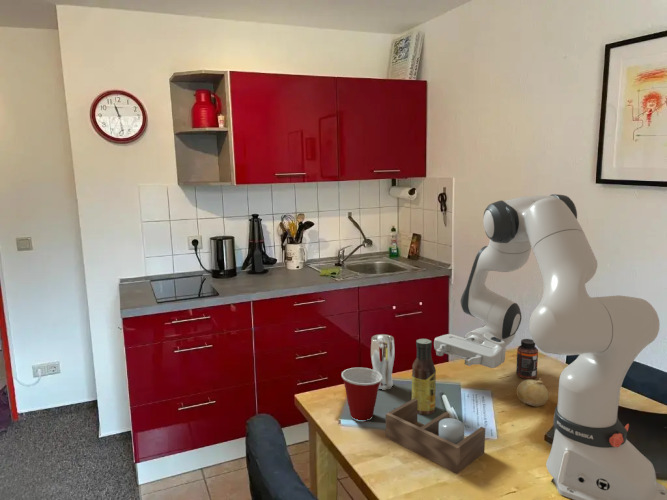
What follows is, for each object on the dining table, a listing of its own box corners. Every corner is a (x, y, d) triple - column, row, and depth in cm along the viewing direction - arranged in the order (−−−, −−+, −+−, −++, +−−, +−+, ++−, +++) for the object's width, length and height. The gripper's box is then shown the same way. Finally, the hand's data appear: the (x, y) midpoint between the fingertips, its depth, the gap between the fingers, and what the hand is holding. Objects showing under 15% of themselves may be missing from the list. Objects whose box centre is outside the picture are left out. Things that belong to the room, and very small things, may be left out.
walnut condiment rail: (484, 456, 113) (485, 428, 112) (456, 478, 106) (457, 448, 105) (414, 423, 128) (414, 398, 127) (385, 440, 121) (385, 414, 119)
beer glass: (398, 383, 150) (398, 336, 148) (388, 393, 145) (388, 344, 142) (377, 378, 154) (377, 332, 151) (367, 387, 148) (366, 339, 146)
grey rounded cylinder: (468, 452, 113) (469, 424, 112) (454, 463, 110) (455, 434, 108) (447, 443, 117) (448, 415, 116) (433, 452, 114) (433, 424, 112)
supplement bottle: (539, 379, 151) (542, 344, 149) (520, 380, 151) (521, 344, 149) (532, 371, 157) (534, 337, 155) (513, 371, 157) (515, 337, 155)
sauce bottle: (435, 419, 130) (436, 346, 126) (410, 417, 131) (411, 345, 127) (435, 406, 136) (436, 337, 133) (412, 405, 137) (412, 336, 134)
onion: (530, 412, 132) (532, 387, 131) (510, 399, 140) (511, 375, 138) (554, 406, 135) (555, 382, 134) (532, 393, 142) (534, 370, 141)
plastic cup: (391, 419, 130) (391, 376, 128) (356, 431, 125) (356, 387, 123) (367, 402, 139) (367, 362, 137) (334, 413, 134) (333, 371, 132)
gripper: (449, 326, 157) (422, 337, 147) (510, 343, 142) (484, 357, 133) (448, 345, 158) (422, 357, 149) (509, 364, 143) (483, 379, 134)
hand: (452, 357), depth 140 cm, fingers open, 8 cm apart
